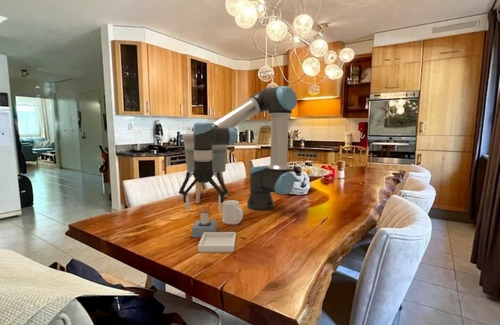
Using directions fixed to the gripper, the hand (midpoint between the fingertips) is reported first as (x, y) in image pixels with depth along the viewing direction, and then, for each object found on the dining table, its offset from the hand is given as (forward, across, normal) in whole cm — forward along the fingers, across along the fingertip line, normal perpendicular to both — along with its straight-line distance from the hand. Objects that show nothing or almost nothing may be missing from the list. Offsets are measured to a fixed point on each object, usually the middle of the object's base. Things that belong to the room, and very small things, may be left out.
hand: (203, 210), depth 116 cm
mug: (+10, -11, -14) cm, 21 cm away
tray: (+10, -7, +11) cm, 17 cm away
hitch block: (+10, 0, 0) cm, 10 cm away
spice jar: (+10, 0, 0) cm, 10 cm away
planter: (+10, +8, -56) cm, 58 cm away
